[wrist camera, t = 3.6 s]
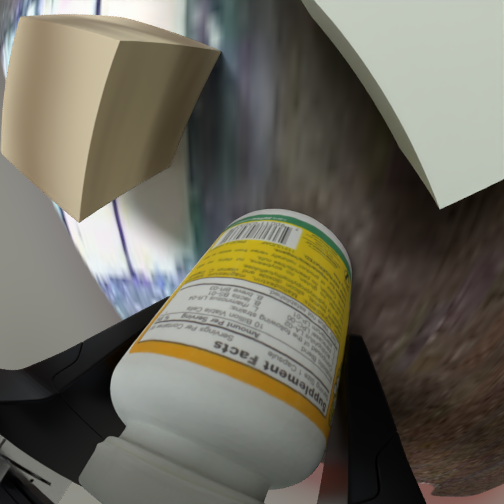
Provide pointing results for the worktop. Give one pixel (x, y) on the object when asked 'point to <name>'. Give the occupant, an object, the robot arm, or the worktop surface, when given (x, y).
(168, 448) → the supplement bottle
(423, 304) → the worktop surface
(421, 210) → the worktop surface
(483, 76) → the white cube
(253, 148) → the worktop surface
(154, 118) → the maple block
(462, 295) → the worktop surface
